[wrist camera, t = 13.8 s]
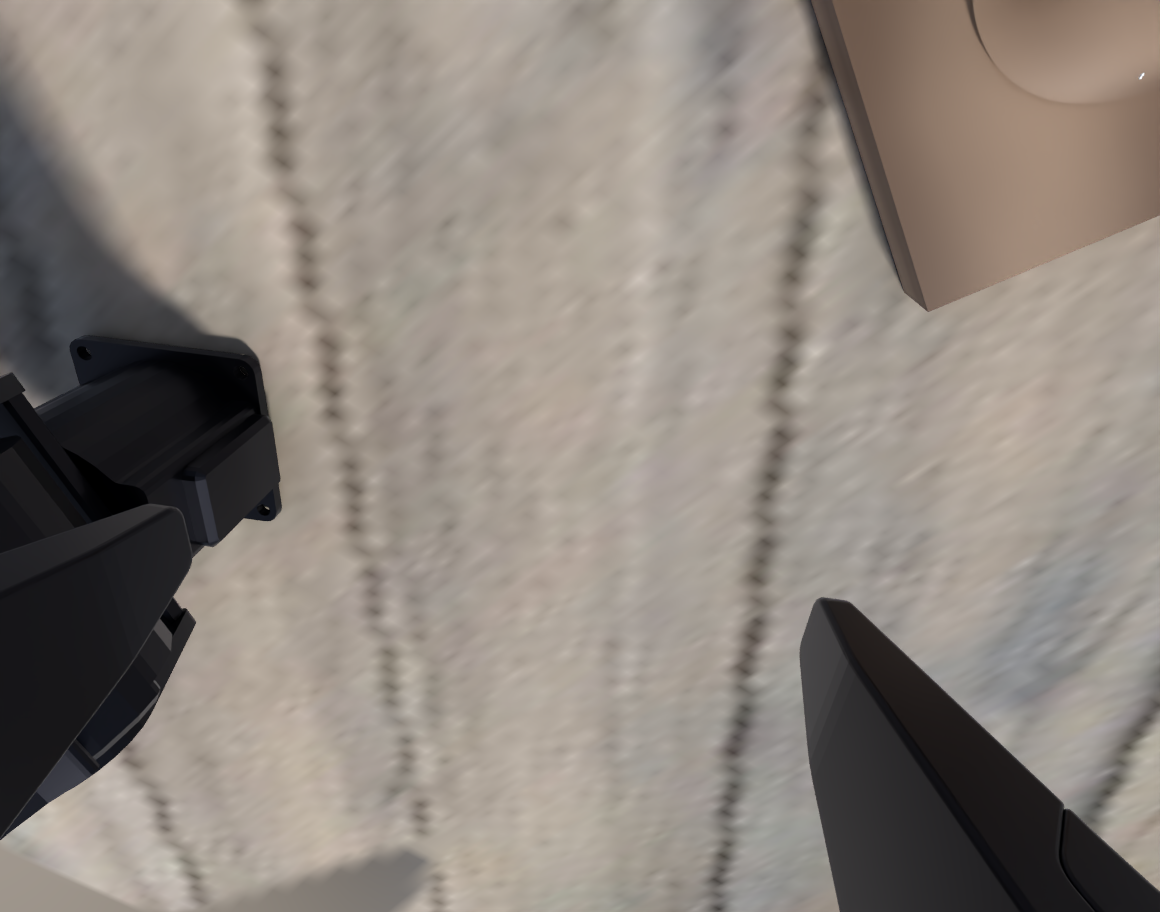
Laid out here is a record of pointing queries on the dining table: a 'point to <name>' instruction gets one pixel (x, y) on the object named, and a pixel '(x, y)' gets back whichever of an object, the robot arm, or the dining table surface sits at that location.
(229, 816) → the dining table surface
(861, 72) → the walnut board
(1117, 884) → the robot arm
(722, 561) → the dining table surface
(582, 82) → the dining table surface
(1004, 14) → the beer glass
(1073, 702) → the dining table surface
